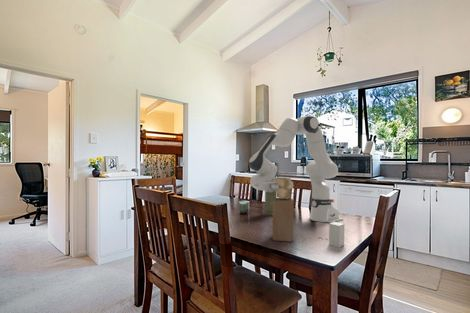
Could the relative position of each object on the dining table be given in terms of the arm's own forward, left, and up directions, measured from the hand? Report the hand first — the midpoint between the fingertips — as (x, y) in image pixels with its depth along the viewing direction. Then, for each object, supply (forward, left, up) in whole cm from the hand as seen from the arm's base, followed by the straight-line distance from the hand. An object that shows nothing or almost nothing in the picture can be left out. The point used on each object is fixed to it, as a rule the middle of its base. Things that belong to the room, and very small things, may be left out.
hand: (284, 186), depth 128 cm
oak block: (0, -1, -5) cm, 6 cm away
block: (0, -1, -27) cm, 27 cm away
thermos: (-26, -50, -27) cm, 62 cm away
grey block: (-18, +17, -26) cm, 36 cm away
